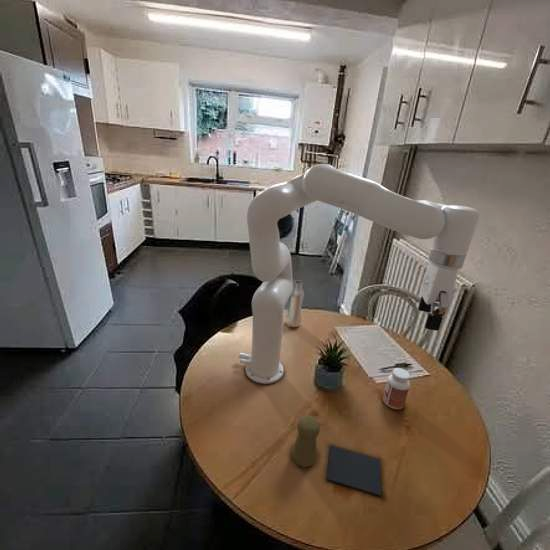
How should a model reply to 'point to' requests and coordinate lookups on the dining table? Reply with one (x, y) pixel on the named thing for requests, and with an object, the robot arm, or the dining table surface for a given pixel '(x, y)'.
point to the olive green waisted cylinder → (306, 441)
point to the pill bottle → (397, 388)
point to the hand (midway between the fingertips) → (427, 319)
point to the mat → (354, 470)
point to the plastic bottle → (295, 305)
